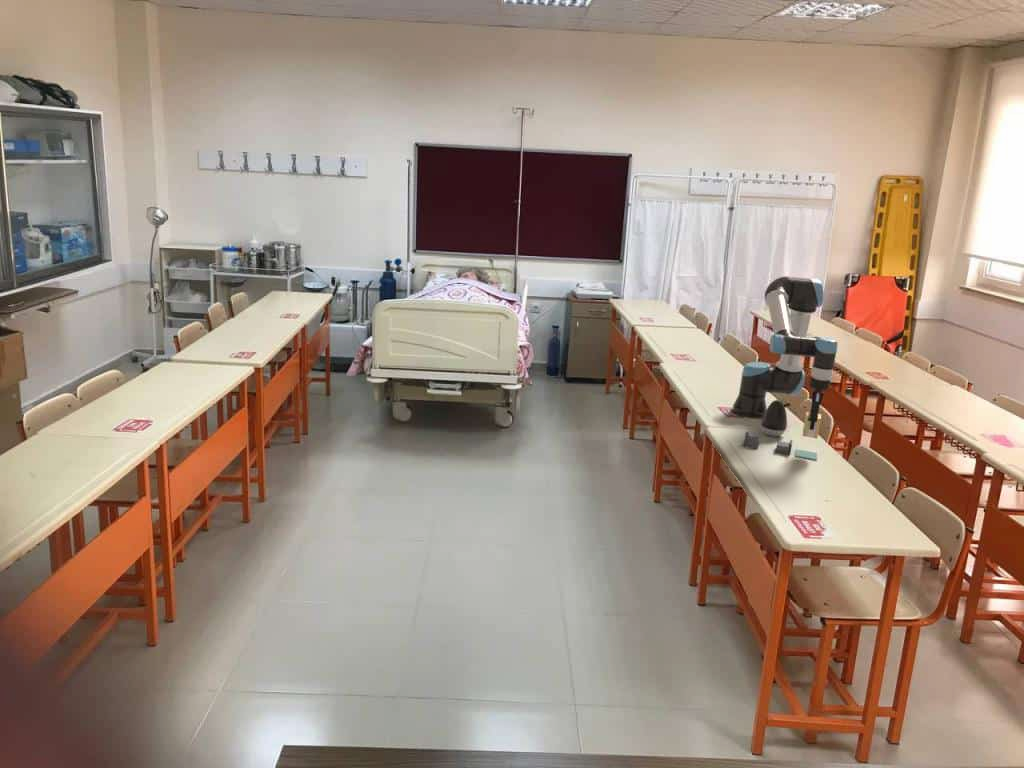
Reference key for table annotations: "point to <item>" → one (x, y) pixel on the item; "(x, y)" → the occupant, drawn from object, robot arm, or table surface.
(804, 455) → the rubber pad
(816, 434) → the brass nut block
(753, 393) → the robot arm
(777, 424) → the pump dispenser
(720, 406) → the table surface
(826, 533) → the table surface
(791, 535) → the table surface
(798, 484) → the table surface
